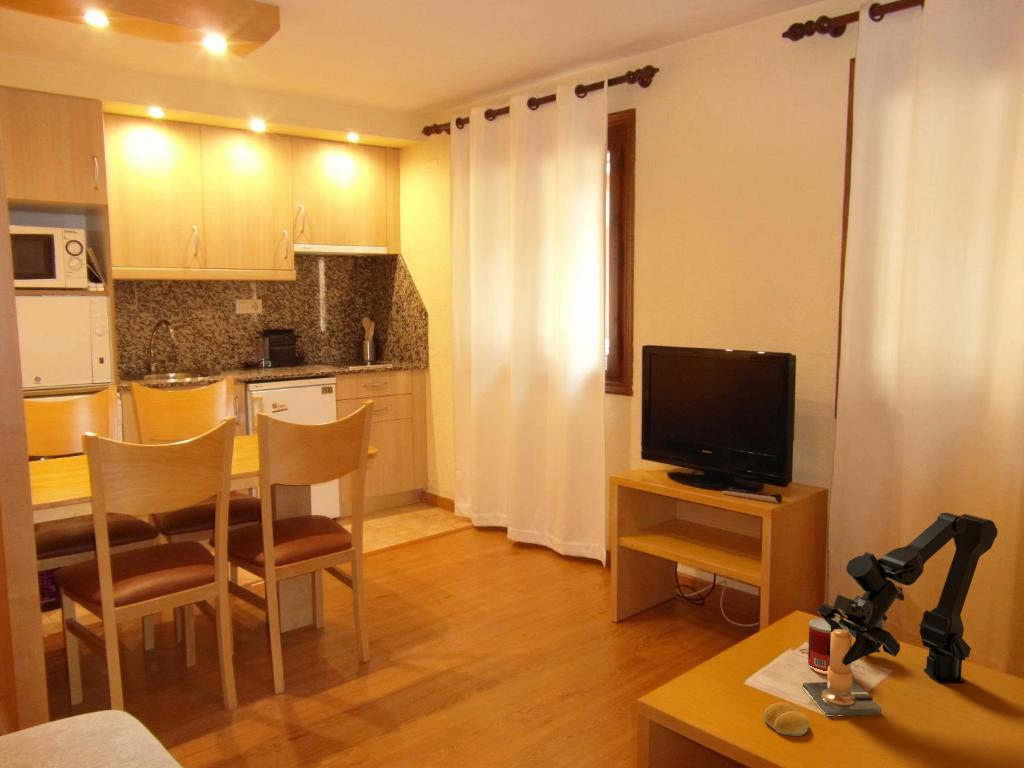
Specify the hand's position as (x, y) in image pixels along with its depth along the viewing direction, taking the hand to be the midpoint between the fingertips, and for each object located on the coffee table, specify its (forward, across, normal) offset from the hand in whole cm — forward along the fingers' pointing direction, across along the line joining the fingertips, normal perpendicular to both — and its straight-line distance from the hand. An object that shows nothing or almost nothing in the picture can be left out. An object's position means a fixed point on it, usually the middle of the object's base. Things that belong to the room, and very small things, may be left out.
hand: (835, 659), depth 168 cm
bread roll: (+19, +2, -3) cm, 19 cm away
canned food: (-1, -14, +16) cm, 21 cm away
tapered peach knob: (+4, 0, +6) cm, 7 cm away
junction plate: (+6, -1, +9) cm, 11 cm away
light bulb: (-11, -16, +26) cm, 33 cm away
